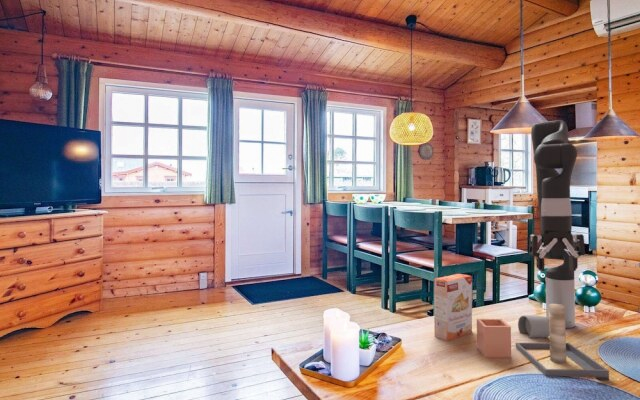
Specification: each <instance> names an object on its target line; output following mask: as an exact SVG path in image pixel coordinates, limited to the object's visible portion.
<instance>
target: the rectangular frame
mask: <svg viewBox="0 0 640 400" xmlns="http://www.w3.org/2000/svg"><path fill="white" fill-rule="evenodd" d="M515 349H516V350H518V351H519V352H520V354H522V355H523V356H524V357H525V358H526V359H527V360H528V361H529V362H530V363H531V364H532V365H534V366H535V368H537V369H538V370H539V371H540V372H541V373H542V374H543V376H545V377H546V376H547V377H593V378H595V380H598V381H609V380H610V370H609V369H607V368H605V366H603V365H601V364H600V363H599V362H597V361H596V360H595V359H593V358H591V357H590V356H588V355H587V354H586V353H584V352H583V351H581V350H580V349H579V348H577V347H575V346H574V345H573V344H571V343H570V342H566V358H568V359H569V360H571V361H572V362H574V363H575V364H576V365H577V366H578V367H580V368H578V369H577V368H575V369H574V368H570V369H569V368H546V367H545V366H544V365H543V364H542V363H541V362H539V360H537V359H536V358H535V357H534V356H533V355H532V354H531V353H530V352H528V351H527V350H526V349H550V342H515Z"/></svg>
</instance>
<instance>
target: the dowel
mask: <svg viewBox="0 0 640 400" xmlns="http://www.w3.org/2000/svg"><path fill="white" fill-rule="evenodd" d="M549 331H550V336H549V343H550V348H549V357H550V358H549V359H550V361H551V362H553V363H555V364H560V365H561V364H566V363H567V356H566V343H567V339H566V336H567V335H566V333H567V332H566V328H565V306H564V305H561V304H549Z"/></svg>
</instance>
